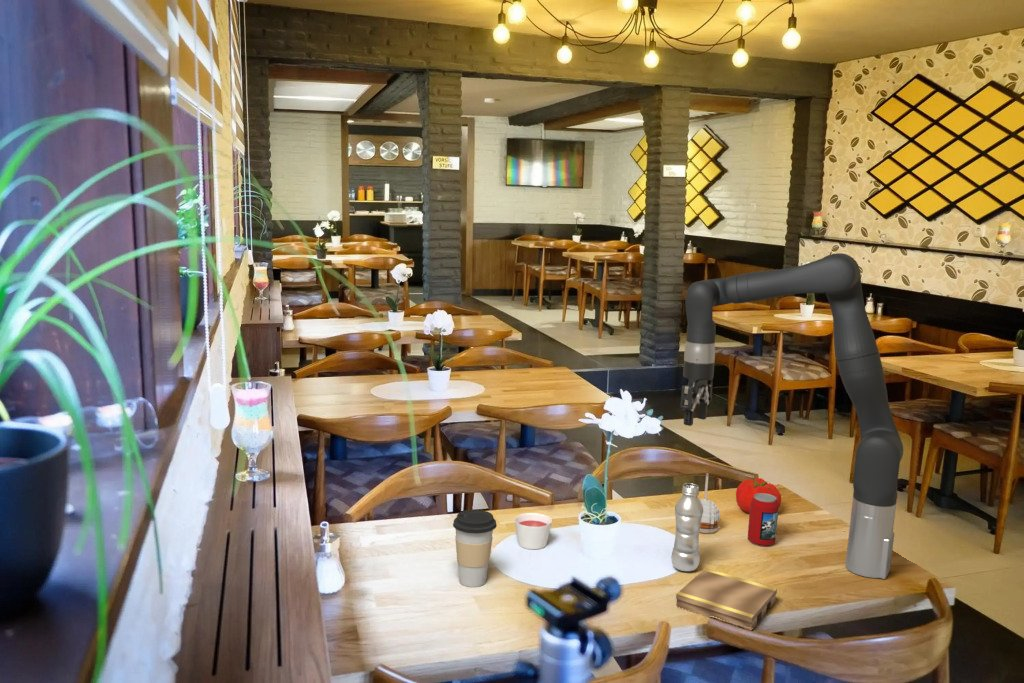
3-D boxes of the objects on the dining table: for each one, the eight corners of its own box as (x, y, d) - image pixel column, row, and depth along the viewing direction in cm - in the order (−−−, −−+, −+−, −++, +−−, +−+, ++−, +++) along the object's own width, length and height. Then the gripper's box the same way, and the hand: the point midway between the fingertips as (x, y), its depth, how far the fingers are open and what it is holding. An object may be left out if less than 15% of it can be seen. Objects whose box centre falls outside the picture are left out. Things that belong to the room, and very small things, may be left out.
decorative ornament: (716, 524, 218) (721, 470, 216) (719, 536, 211) (724, 479, 208) (686, 522, 219) (691, 467, 217) (688, 533, 212) (693, 477, 209)
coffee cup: (446, 574, 183) (447, 510, 180) (486, 569, 186) (488, 506, 184) (458, 593, 174) (460, 526, 172) (500, 588, 177) (503, 521, 175)
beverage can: (769, 550, 203) (773, 503, 201) (743, 542, 207) (747, 497, 205) (779, 542, 208) (783, 496, 206) (753, 534, 212) (757, 490, 210)
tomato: (774, 523, 220) (777, 493, 219) (728, 513, 227) (730, 483, 225) (785, 509, 231) (788, 480, 230) (741, 500, 237) (743, 471, 236)
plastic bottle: (702, 566, 192) (709, 484, 188) (693, 577, 186) (700, 493, 183) (676, 560, 195) (682, 479, 192) (666, 570, 189) (672, 487, 186)
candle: (557, 548, 199) (558, 523, 198) (523, 554, 195) (524, 529, 194) (540, 535, 207) (541, 511, 206) (507, 540, 203) (508, 515, 202)
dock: (775, 602, 176) (777, 588, 175) (750, 632, 163) (751, 617, 162) (704, 580, 185) (705, 567, 184) (675, 607, 172) (676, 593, 171)
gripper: (702, 365, 200) (697, 430, 202) (724, 357, 211) (719, 419, 214) (673, 361, 204) (669, 424, 207) (696, 354, 216) (692, 414, 218)
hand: (695, 421), depth 210 cm, fingers open, 8 cm apart
